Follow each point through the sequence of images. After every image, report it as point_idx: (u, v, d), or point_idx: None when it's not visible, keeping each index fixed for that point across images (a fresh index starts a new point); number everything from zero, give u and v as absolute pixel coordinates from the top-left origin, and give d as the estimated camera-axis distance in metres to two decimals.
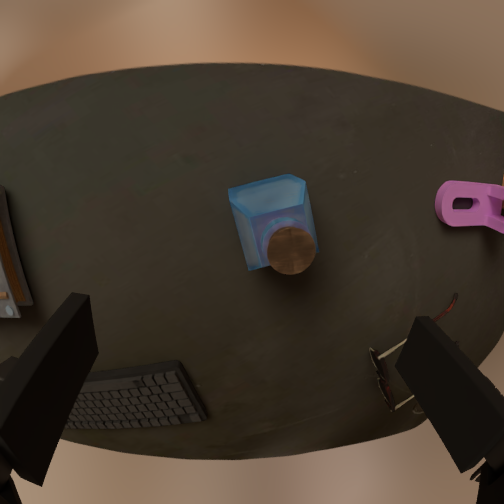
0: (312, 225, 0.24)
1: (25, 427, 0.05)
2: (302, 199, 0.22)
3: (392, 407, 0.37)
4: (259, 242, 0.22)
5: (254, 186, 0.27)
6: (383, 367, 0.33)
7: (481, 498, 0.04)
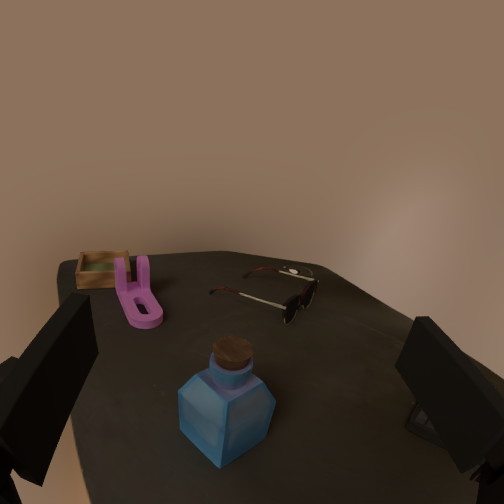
0: None
1: (25, 427, 0.05)
2: (192, 377, 0.24)
3: (314, 280, 0.54)
4: (244, 389, 0.23)
5: (204, 439, 0.23)
6: (289, 301, 0.46)
7: (481, 498, 0.04)
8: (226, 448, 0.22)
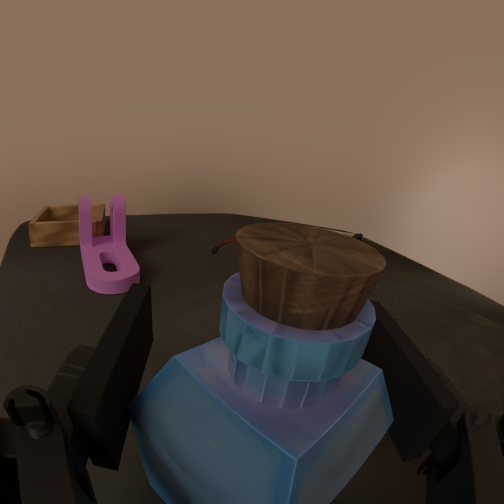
0: None
1: (111, 410, 0.06)
2: (164, 368, 0.07)
3: (359, 234, 0.38)
4: (340, 401, 0.06)
5: None
6: None
7: (431, 497, 0.05)
8: None
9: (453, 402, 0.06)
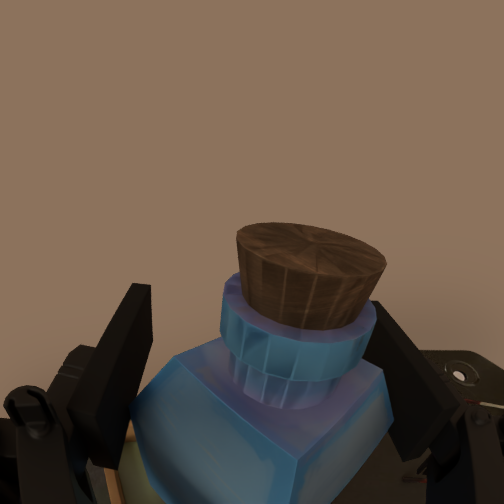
0: None
1: (111, 410, 0.06)
2: (165, 368, 0.07)
3: None
4: (340, 401, 0.06)
5: None
6: None
7: (431, 497, 0.05)
8: None
9: (453, 402, 0.06)
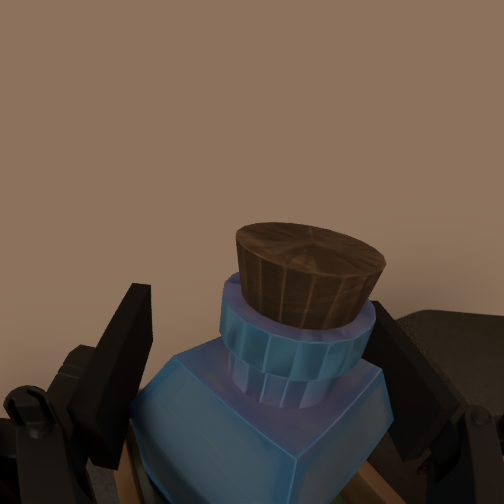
0: None
1: (111, 410, 0.06)
2: (164, 368, 0.07)
3: None
4: (340, 401, 0.06)
5: None
6: None
7: (431, 496, 0.05)
8: None
9: (453, 402, 0.06)
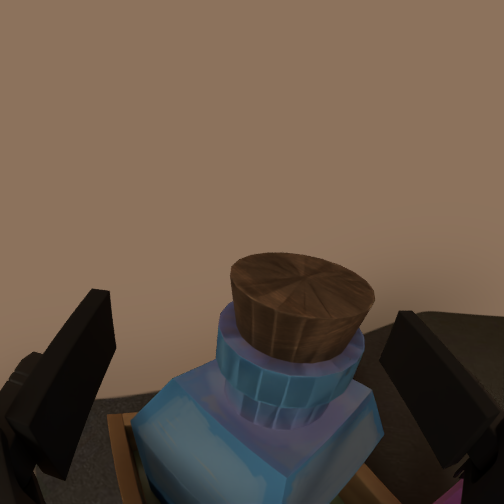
0: None
1: (52, 421, 0.05)
2: (165, 389, 0.07)
3: None
4: (329, 422, 0.06)
5: None
6: None
7: (466, 497, 0.05)
8: None
9: (494, 410, 0.06)
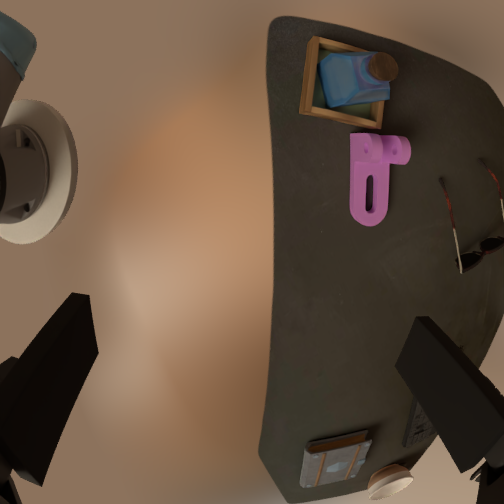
0: (361, 52, 0.27)
1: (25, 427, 0.05)
2: (346, 56, 0.26)
3: (503, 244, 0.41)
4: (374, 86, 0.27)
5: (329, 88, 0.32)
6: (469, 269, 0.41)
7: (482, 498, 0.04)
8: (339, 105, 0.32)
9: None
